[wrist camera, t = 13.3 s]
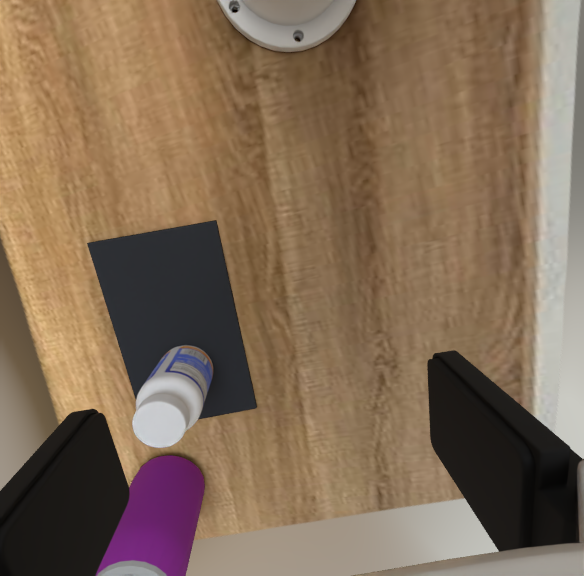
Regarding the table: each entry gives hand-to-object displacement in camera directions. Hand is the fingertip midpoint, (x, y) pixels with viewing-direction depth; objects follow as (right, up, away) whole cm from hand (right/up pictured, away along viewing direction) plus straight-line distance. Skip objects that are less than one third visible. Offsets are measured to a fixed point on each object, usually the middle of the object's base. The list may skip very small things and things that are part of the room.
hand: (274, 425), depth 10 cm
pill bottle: (-10, -4, +26) cm, 28 cm away
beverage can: (-13, -17, +29) cm, 36 cm away
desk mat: (-11, 0, +25) cm, 27 cm away
